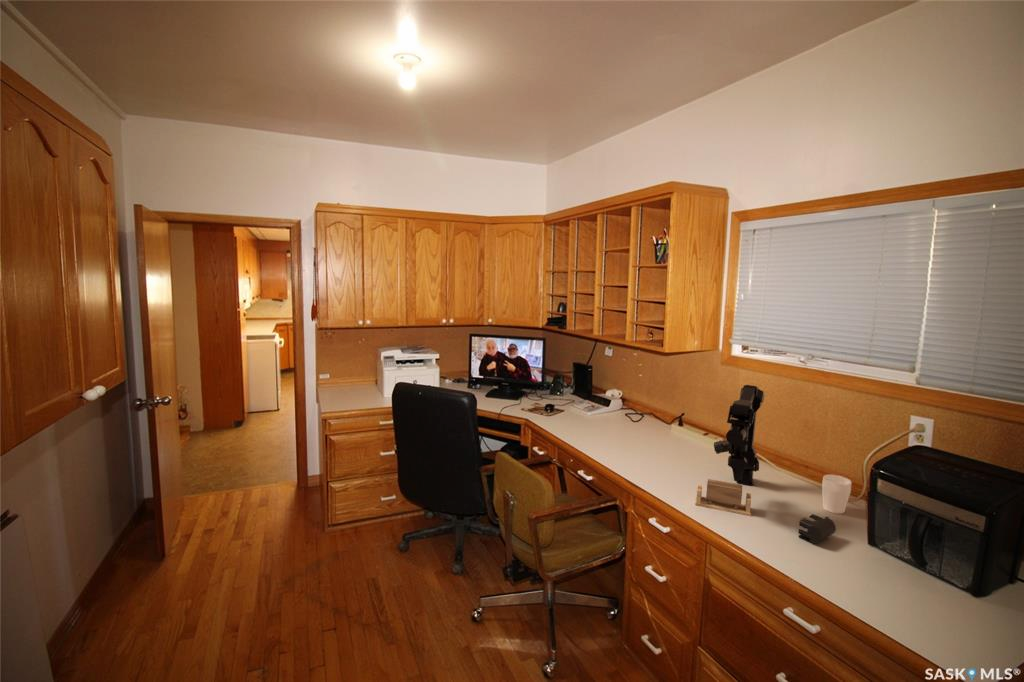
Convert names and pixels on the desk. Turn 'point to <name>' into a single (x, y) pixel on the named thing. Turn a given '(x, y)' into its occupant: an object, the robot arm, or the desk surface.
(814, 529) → the end cap
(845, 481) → the cup
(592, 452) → the desk surface
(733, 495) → the brown rectangular block
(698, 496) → the peg frame
